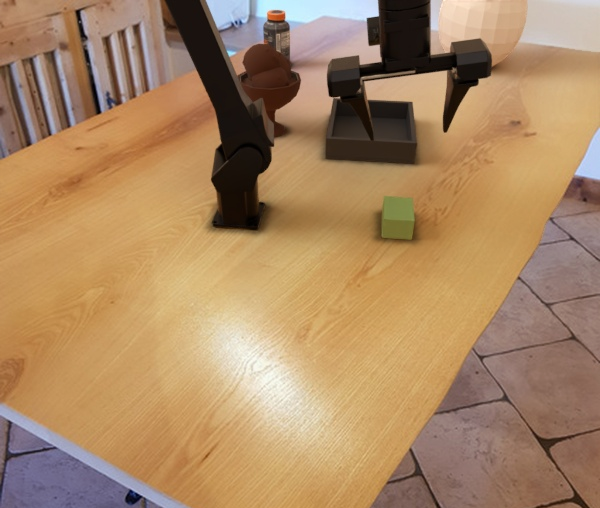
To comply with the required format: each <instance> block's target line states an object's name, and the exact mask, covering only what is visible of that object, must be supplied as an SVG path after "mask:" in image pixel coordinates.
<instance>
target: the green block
mask: <svg viewBox="0 0 600 508" xmlns="http://www.w3.org/2000/svg"><path fill="white" fill-rule="evenodd" d="M415 220H416V218H415V207H414V197H409V196H393V195H391V196H390V195H384V196H383V200H382V207H381V238H382V239H392V240H393V239H395V240H409V241H411V240H413V233H414V228H415V222H416V221H415Z"/></svg>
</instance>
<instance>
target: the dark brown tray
mask: <svg viewBox="0 0 600 508" xmlns="http://www.w3.org/2000/svg"><path fill="white" fill-rule="evenodd" d="M367 100H368V105H369V109H370V114H371V119H372V124H373V133H374V141H371V140H370V138H369V136H368V134H367V132H366V130H365V128H364V126H363V124H362V122H361V120H360V118H359V117H358V115H357V114H356V112H355V111H354V109H353V108H352V107H351V105H350V104H349V103H342V102H341V101H340V97H335V98H333V97H332V104H331V108H330V115H329V120H328V125H327V126H328V127H327V132H326V136H325V137H326V138H325V155H324V156H325V158H324V159H326V160H339V161H340V160H341V161H358V162H359V161H361V162H375V163H376V162H378V163H393V164H395V163H396V164H412V165H413V164H415V160H416V154H417V149H418V139H417V130H416V121H415V113H414V112H415V111H414V104H413V103H414V102H413V101H407V100H384V99H383V100H382V99H381V100H380V99H367Z"/></svg>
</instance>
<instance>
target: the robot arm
mask: <svg viewBox="0 0 600 508" xmlns="http://www.w3.org/2000/svg"><path fill="white" fill-rule="evenodd" d="M163 1H164V3H165V5H166V7H167V10H168V11H169V14H170V15H171V19H172V21H173V22H174V25H175V26H176V29H177V31H178V33H179V35H180V38H181V40H182V42H183V44H184V46H185V48H186V50H187V53H188V55H189V57H190V59H191V61H192V64H193V66H194V68H195V70H196V72H197V74H198V76H199V79H200V81H201V83H202V85H203V88H204V89H205V92H206V94H207V96H208V98H209V100H210V102H211V105H212V107H213V109H214V112H215V117H216V122H217V127H218V133H219V138H220V144H218V146H217V147H216V148H215V149H214V155H213V164H212V169H211V176H210V181H211V183H212V185H213V187H214V189H215V192H216V200H217V209H216V211H215V213H214V216H213V218H212V220H211V226H212V227H214V228H232V229H243V230H244V229H245V230H258V229H259V228H260V225H261V221H262V219H263V215H264V211H265V209H266V203H265V202H263V201H260V198H259V194H260V193H259V177H260V175H262V174H263V173H265V172H266V171H267V170H268V169H269V167H270V165H271V163H272V159H273V155H272V154H273V153H272V152H273V150H272V149H273V148H274V147H275V137H274V124H273V122H272V121H271V120H270V119H269V118H268V116H267V114H266V110H265V105H264V101H263V98H260V99H258V100H256V101H255V102H252V100H251V99H250V98H249V97H248V96H247V95H246V93H245V92H244V90H243V89H242V86H241V84H240V81H239V79H238V76H237V75H238V74H237V72H236V70H235V67H234V65H233V62H232V60H231V57H230V55H229V53H228V50H227V48H226V45H225V43H224V41H223V39H222V36H221V33H220V31H219V28H218V26H217V23H216V20H215V18H214V16H213V13H212V12H211V10H210V6H209V4H208V2H207V0H163ZM377 8H378V11H377V12H378V15H377V16H371V17H370V16H369V17H366V31H367V45H368V47H373V46H379V56H380V60H381V61H376V62H369V63H363V64H361V59H360V54H359V55H351V56H350V55H349V56H344V57H336V58H331V60H330V61H329V63H328V64H327V71H326V84H327V85H326V87H327V92H328V93H327V94H328V97H330V98H332V99H333V98H340V101H341V102H342V103H349V104H350V105H351V107H352V108H353V109H354V111H355V112H356V114H357V115H358V117H359V118H360V120H361V122H362V124H363V126H364V128H365V130H366V132H367V134H368V136H369V138H370V140H371V141H374V133H373V124H372V119H371V114H370V109H369V105H368V100H369V99H368V95H367V90H366V85H365V84H366V83H365V82H369V81H371V82H372V81H380V80H386V79H387V80H388V79H394V78H401V77H410V76H417V75H424V74H431V73H432V74H433V73H439V72H446V87H445V88H446V89H445V97H444V98H445V99H444V104H443V111H442V112H443V113H442V132H443V133H444V134H445V133H446V134H447V133H448V131H449V129H450V127H451V125H452V122H453V120H454V118H455V115H456V113H457V111H458V109H459V107H460V105H461V103H462V102H463V100H464V98H465V97H466V95H467V93H468V92H469V90H470V89H472V88H473V87H477V86H479V84H480V80H482V79H488V78H490V77H491V76H492V68H493V67H492V55H491V52H490V51H489V49H488V47H487V45H486V43H485V42H484V41H483V40H482V39H481V38H478V39H471V40H464V41H457V42H451V46H450V53H445V52H442V53H435V54H432V43H431V42H432V0H377Z"/></svg>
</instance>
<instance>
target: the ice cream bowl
mask: <svg viewBox="0 0 600 508" xmlns="http://www.w3.org/2000/svg"><path fill="white" fill-rule="evenodd" d="M242 65H243V67H244V69H245V71H243V72H241V73H239V74H237V77H238V79H239V81H240V84H241V86H242V89H243V90H244V92H245V93H246V95H247V96H248V97H249V98H250V99H251V100H252V102H255V101H256V100H258V99H260V98H263V101H264V105H265V110H266V114H267V116H268V118H269V119H270V120H271V121H272V122H273V124H274V138H276V137H281V136H282V135H284V134H285V133H286V128H285V125H283V124H282V123H280V122H278V121H276V111H277V110H280V109H281V108H283V107H285V106H287V105H288V104H290V103H291V102H292V101H293V100H294V99H295V98H296V97H297V94H298V93H299V91H300V89H301V84H302V78H301V76H300V73H299V72H296V71H295V70H292V69H291V68H292V65H291V59H290V60H289V59H288V58H287V57H286V56H284V55H283V54H282V53H281V52H278V51H276V50H275V49H274V48H273V47H272V46H271V45H269V44H264V43H256V44H253V45H252V46H250V47H249V48H248V50H247V51H245V53H244V54H243V60H242Z"/></svg>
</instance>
